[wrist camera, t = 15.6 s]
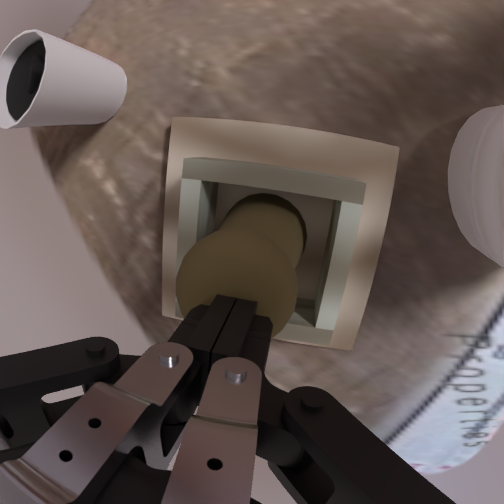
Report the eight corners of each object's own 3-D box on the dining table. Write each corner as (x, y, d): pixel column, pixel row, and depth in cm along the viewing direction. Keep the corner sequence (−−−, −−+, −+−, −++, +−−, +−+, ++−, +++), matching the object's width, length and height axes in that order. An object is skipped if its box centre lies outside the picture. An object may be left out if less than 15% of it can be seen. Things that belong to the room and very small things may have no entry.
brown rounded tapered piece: (239, 285, 23) (191, 379, 13) (209, 209, 22) (130, 257, 12) (317, 262, 22) (325, 354, 12) (290, 180, 21) (276, 205, 10)
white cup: (109, 43, 20) (30, 12, 11) (145, 90, 21) (62, 65, 12) (62, 96, 22) (-20, 89, 13) (93, 144, 23) (5, 150, 14)
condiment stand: (178, 118, 22) (146, 110, 17) (395, 147, 20) (419, 145, 15) (167, 309, 27) (141, 339, 22) (350, 342, 25) (356, 382, 20)
